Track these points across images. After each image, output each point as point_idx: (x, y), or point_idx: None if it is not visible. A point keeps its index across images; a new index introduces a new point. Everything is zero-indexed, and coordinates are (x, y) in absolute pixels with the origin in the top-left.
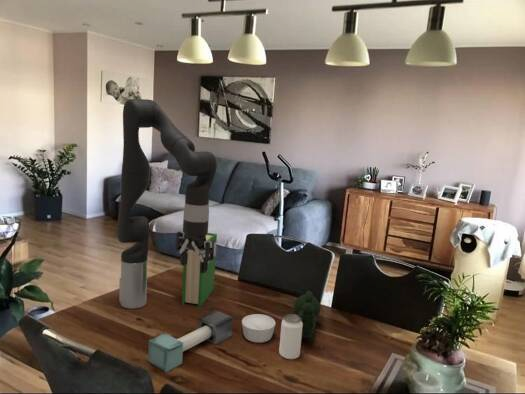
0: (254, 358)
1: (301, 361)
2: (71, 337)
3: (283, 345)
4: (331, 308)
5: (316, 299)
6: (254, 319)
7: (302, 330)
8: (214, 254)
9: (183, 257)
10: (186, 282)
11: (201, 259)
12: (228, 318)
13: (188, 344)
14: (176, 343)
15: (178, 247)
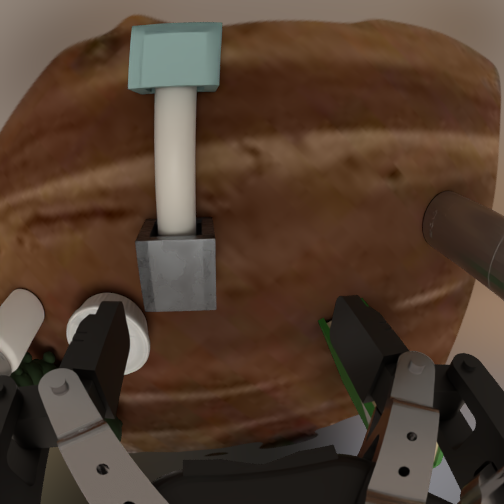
0: (46, 244)
1: (2, 300)
2: (426, 29)
3: (11, 303)
4: None
5: None
6: None
7: (24, 363)
8: None
9: (364, 344)
10: None
11: (66, 389)
12: (148, 298)
13: (154, 131)
14: (140, 70)
15: (462, 380)
